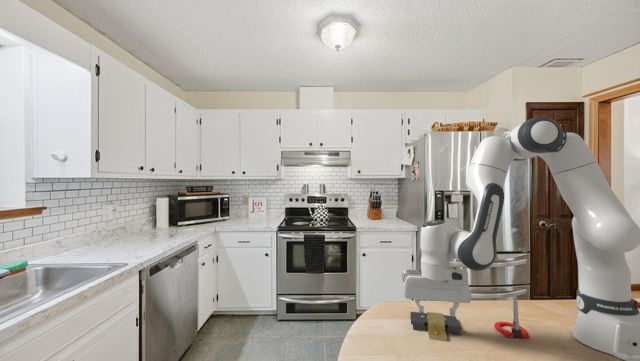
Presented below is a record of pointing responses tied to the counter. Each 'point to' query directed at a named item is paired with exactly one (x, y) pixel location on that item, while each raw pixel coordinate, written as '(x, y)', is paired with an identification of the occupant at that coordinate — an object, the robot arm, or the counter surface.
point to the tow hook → (513, 324)
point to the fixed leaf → (421, 320)
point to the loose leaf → (436, 326)
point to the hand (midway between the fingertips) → (436, 313)
